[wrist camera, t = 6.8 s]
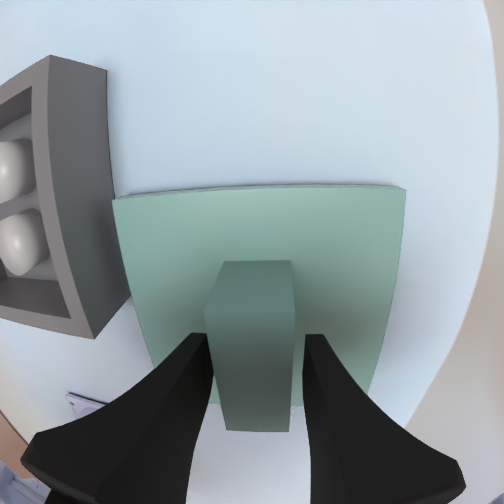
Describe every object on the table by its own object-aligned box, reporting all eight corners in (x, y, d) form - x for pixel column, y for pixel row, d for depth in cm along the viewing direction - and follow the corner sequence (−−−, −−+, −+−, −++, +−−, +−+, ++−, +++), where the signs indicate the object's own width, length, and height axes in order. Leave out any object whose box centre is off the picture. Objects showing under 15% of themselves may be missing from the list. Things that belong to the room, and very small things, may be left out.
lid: (360, 383, 15) (376, 450, 10) (172, 381, 16) (147, 444, 11) (392, 184, 11) (456, 214, 6) (127, 193, 12) (57, 226, 7)
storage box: (133, 292, 14) (94, 339, 10) (12, 282, 15) (-24, 310, 11) (106, 70, 10) (49, 54, 6) (-15, 129, 11) (-59, 137, 7)
